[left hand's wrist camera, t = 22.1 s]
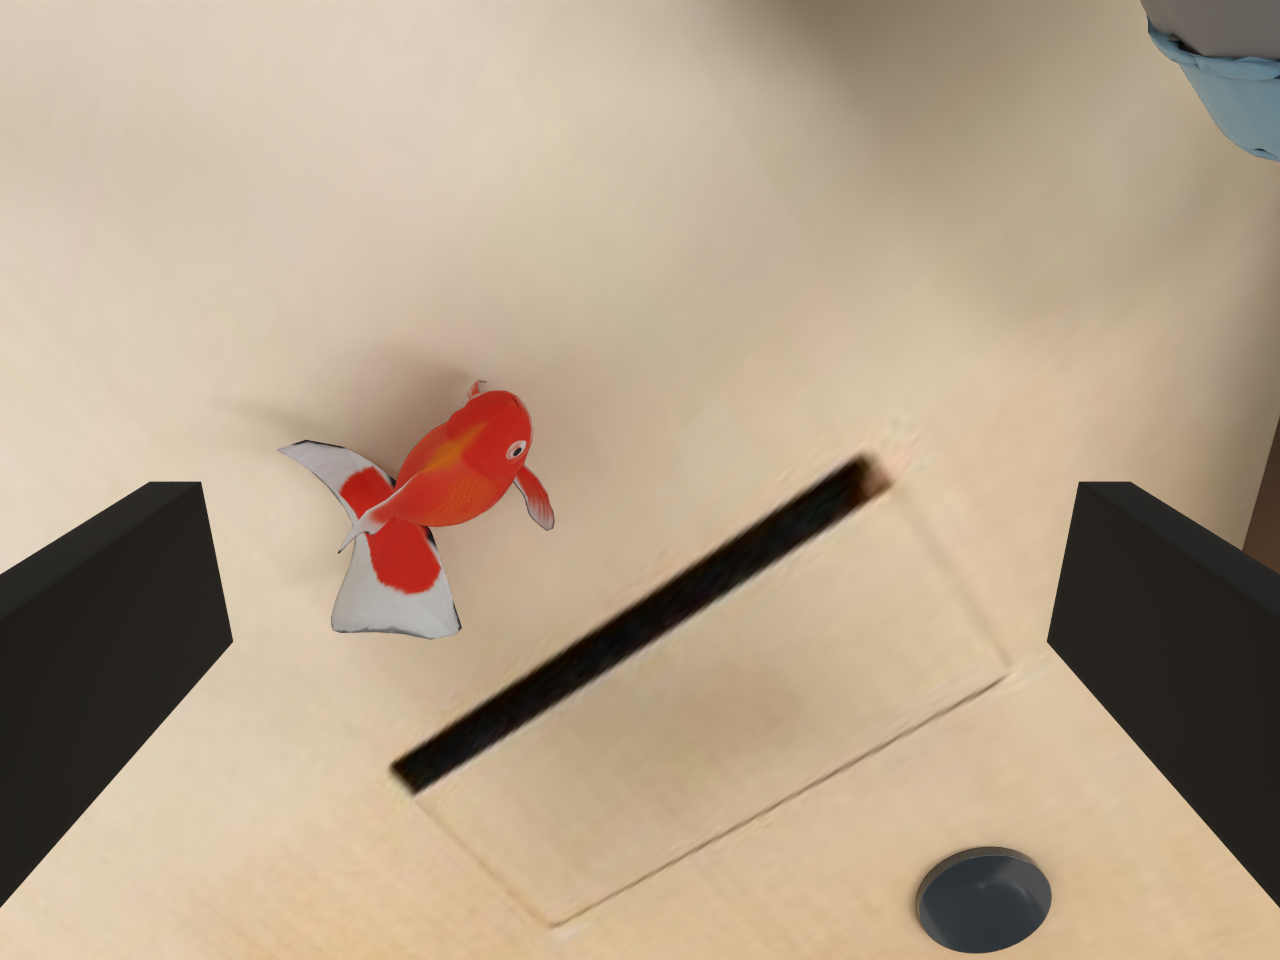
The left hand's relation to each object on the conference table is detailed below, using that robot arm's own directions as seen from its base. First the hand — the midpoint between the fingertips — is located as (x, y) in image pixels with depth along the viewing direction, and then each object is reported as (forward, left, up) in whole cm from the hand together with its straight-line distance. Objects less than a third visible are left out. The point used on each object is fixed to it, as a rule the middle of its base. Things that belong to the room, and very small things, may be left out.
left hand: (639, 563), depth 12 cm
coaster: (+36, +21, -27) cm, 49 cm away
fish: (+9, -10, -27) cm, 30 cm away
